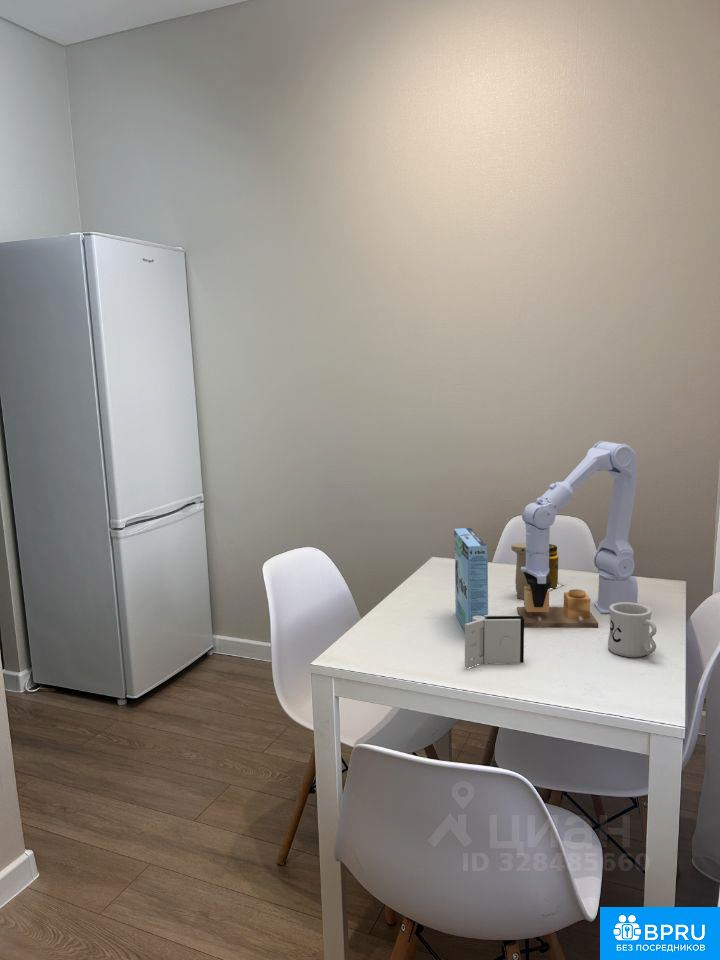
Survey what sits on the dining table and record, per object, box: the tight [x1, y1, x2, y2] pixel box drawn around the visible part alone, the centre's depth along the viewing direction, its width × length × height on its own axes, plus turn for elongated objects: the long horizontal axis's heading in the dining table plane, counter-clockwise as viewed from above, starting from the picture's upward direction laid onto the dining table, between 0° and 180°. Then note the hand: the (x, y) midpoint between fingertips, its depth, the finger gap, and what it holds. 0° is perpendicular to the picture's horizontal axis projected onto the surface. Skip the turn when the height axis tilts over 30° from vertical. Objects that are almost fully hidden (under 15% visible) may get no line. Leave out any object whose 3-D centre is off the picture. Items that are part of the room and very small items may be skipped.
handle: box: [510, 542, 528, 600], centre depth 205 cm, size 5×6×15 cm
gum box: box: [453, 527, 489, 632], centre depth 184 cm, size 20×5×23 cm, turn 2°
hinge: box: [464, 614, 525, 668], centre depth 163 cm, size 14×5×10 cm, turn 101°
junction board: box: [516, 588, 599, 629], centre depth 189 cm, size 18×12×7 cm, turn 86°
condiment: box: [546, 543, 563, 592], centre depth 216 cm, size 7×8×12 cm
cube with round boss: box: [523, 585, 550, 612], centre depth 189 cm, size 5×5×6 cm
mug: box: [607, 602, 658, 658], centre depth 166 cm, size 12×9×10 cm
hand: (536, 603), depth 189 cm, fingers closed on cube with round boss, 5 cm apart
